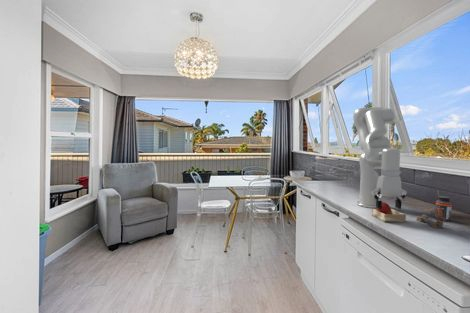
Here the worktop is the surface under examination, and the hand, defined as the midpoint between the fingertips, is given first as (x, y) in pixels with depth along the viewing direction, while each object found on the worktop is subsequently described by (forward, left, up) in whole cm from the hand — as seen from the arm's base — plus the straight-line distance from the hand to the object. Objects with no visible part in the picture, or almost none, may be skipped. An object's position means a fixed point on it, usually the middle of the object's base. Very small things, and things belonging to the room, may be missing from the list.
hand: (388, 208), depth 120 cm
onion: (0, 0, -4) cm, 4 cm away
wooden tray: (0, 0, -5) cm, 5 cm away
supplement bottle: (+2, +26, -5) cm, 27 cm away
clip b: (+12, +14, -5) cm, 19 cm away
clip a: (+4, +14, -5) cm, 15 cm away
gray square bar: (+8, +14, -5) cm, 17 cm away
